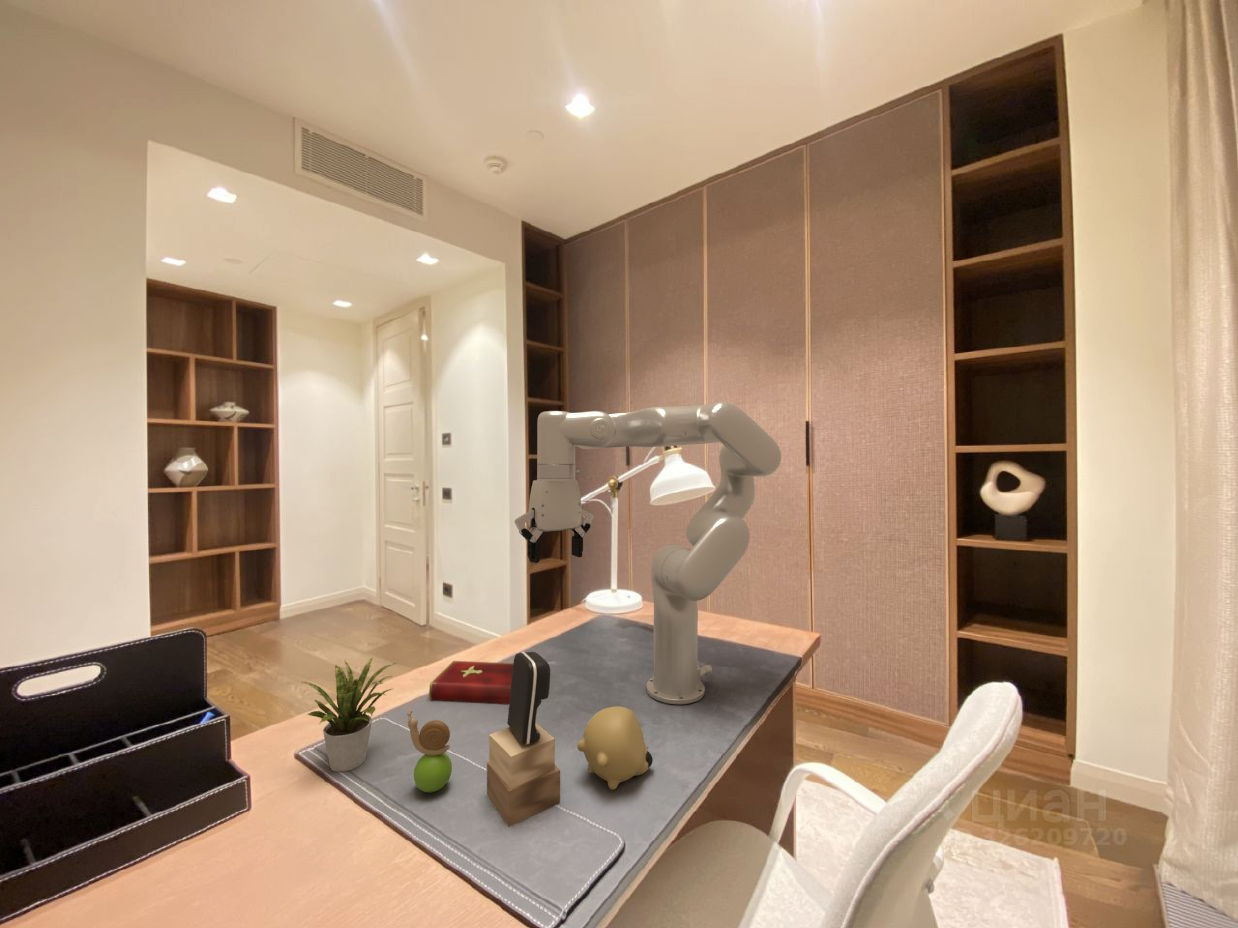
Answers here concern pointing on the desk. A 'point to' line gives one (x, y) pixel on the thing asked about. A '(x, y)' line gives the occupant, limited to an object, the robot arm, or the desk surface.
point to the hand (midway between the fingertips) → (556, 558)
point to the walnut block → (523, 795)
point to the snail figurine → (431, 754)
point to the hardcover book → (473, 683)
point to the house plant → (348, 718)
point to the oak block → (521, 756)
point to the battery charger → (527, 694)
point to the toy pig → (615, 746)
